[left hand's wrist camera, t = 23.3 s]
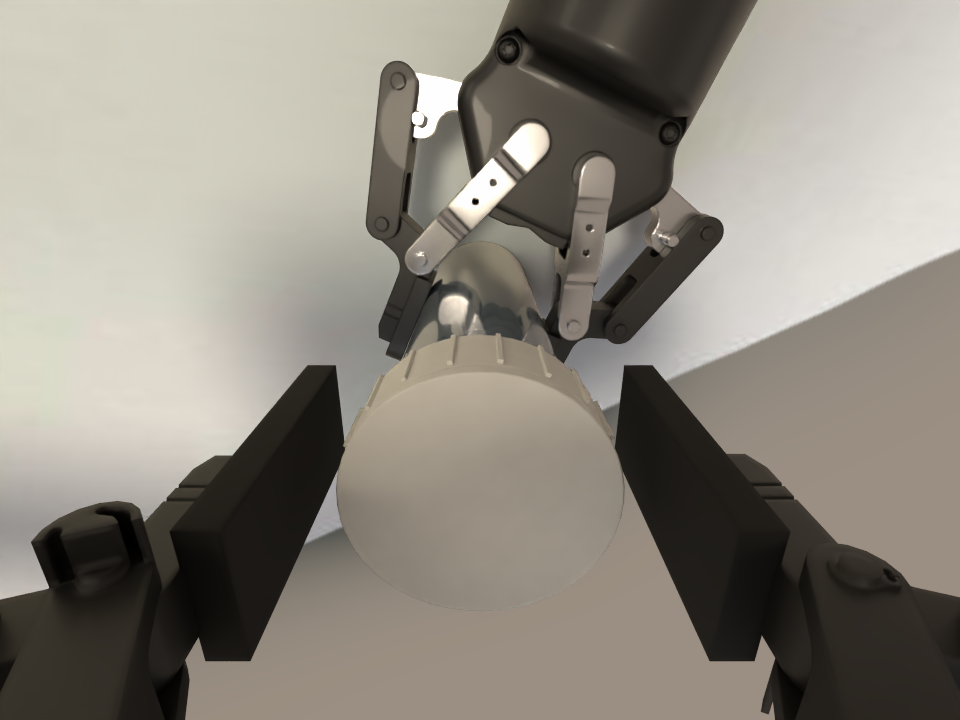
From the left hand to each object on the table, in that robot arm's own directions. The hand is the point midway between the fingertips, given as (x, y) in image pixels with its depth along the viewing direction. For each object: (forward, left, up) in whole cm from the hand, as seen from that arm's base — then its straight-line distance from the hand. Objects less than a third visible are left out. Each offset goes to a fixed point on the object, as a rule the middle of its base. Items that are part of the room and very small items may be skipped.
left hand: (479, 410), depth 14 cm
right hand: (-2, -2, -8) cm, 8 cm away
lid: (0, 0, +4) cm, 4 cm away
